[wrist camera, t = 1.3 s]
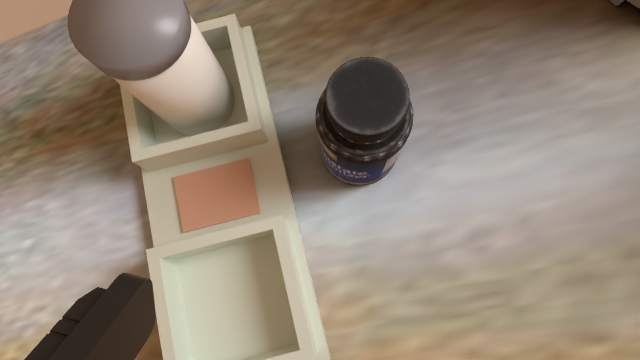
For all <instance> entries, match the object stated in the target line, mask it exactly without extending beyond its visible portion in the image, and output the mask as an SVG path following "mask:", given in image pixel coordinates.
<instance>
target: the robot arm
mask: <svg viewBox="0 0 640 360" xmlns="http://www.w3.org/2000/svg"><path fill="white" fill-rule="evenodd" d="M155 318H156V311H155V302H154V292H153V284H152V281H151V280H150V279H146V278H143V277H139V276H135V275H132V274H128V273H122V274H120V275H119V276H118V277H117V278H116V279H115V280H114V282H113V283H112V284H111V285H110V286H109V288H108V289H107V290H106V289H103V288H99V287H97V288H95V289H94V290H92V291H91V292H89V293H88V294H86V295H84V296H83V297H81V298H80V299H78V300H77V301H76V302H75V303H74V304H73V305H72V307H71V308H70V309H69V310H68V311H67V312H66V313H65V314H64V316H63V318H62V320H59V321H58V322H57V323H56V325H55V326H54V327H53V328H52V329H51V330H50V333H49V334H47V335H46V336H45V337H44V338H43V339H42V340H41V341H40V343H39V344H38V345H37V346H36V347H35V348H34V349H33V350H32V352H31V353H30V354H29V355H28V356H27V357H26V358H25V359H24V360H134V359H135V357H136V356H137V354H138V353H139V351H140V350H141V348H142V347H143V345H144V344H145V342H146V340H147V339H148V337H149V335H150V334H151V331H152V329H153V326H154V323H155Z"/></svg>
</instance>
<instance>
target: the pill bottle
mask: <svg viewBox="0 0 640 360" xmlns="http://www.w3.org/2000/svg"><path fill="white" fill-rule="evenodd" d="M412 125H413V108H412V104H411V102H410V99H409V88H408V85H407V82H406V80H405V78H404V76H403V75H402V73H401V72H400V71H399V70H398V69H397V68H396V67H395V66H393V65H392V64H391V63H389V62H387V61H384V60H382V59H379V58H374V57H360V58H356V59H353V60H350V61H348V62H346V63H344V64H343V65H341V66H340V67H339V68H338V69H337V70H336V71H335V72H334V73H333V75H332V76H331V77H330V79H329V81H328V84H327V87H326V89H325V90H324V91H323V93H322V95H321V97H320V98H319V102H318V104H317V109H316V126H317V131H318V138H319V144H320V150H321V156H322V161H323V163H324V165H325V166H326V168H327V169H328V171H329V172H330V173H331V174H332V175H333V176H334V177H335V178H337V179H338V180H340V181H342V182H344V183H347V184H350V185H362V184H372V183H375V182H377V181H379V180H380V179H382V178H383V177H385V176H386V175H387V174H388V173H389V171H390V170H391V169H392V167H393V166H394V164H395V162H396V160H397V158H398V156H399V154H400V152H401V150H402V148H403V146H404V144H405V142H406V140H407V138H408V137H409V135H410V132H411V129H412Z"/></svg>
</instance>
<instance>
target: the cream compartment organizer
mask: <svg viewBox="0 0 640 360" xmlns="http://www.w3.org/2000/svg"><path fill="white" fill-rule="evenodd" d="M68 31H69V35H70V38H71V40H72V42H73V44H74V46H75V47H76V49H77V50H78V51H79V52H80V53H81V54H82V55H83V56H84V57H85V58H86V59H88V60H89V61H90V62H91V63H92V64H94V65H95V66H96V67H97V68H98V69H100V70H101V71H102V72H104V73H105V74H107V75H109V76H111V77H112V78H113V79H114V80H116V81H117V82H118V83H119V84H120V89H121V95H122V102H123V108H124V114H125V121H126V127H127V133H128V140H129V146H130V153H131V159H132V162H133V163H135V164H137V165H138V166H140V167H141V171H142V178H143V184H144V190H145V196H146V202H147V209H148V215H149V221H150V227H151V233H152V239H153V246H154V248H150V249H146V254H147V261H148V267H149V273H150V280H151V281H152V284H153V292H154V302H155V311H156V318H157V324H158V330H159V337H160V343H161V349H162V356H163V360H329V359H330V352H329V348H328V344H327V339H326V335H325V331H324V327H323V323H322V319H321V314H320V310H319V306H318V302H317V298H316V294H315V289H314V285H313V281H312V277H311V273H310V269H309V264H308V260H307V256H306V252H305V248H304V244H303V239H302V235H301V231H300V227H299V223H298V218H297V214H296V210H295V206H294V202H293V198H292V193H291V189H290V185H289V181H288V177H287V173H286V168H285V164H284V160H283V156H282V152H281V148H280V143H279V139H278V135H277V131H276V127H275V122H274V118H273V114H272V110H271V106H270V102H269V97H268V93H267V89H266V85H265V81H264V77H263V72H262V68H261V64H260V60H259V56H258V52H257V47H256V43H255V39H254V35H253V32H252V29H251V26H246V27H243V28H241V27H240V25H239V22H238V20H237V18H236V15H235V14H232V15H228V16H224V17H220V18H216V19H212V20H208V21H204V22H201V23H197V24H195V22H194V21H193V19H192V17H191V16H190V13H189V10H188V8H187V6H186V4H185V2H184V1H183V0H73V1H72V4H71V6H70V10H69V14H68Z"/></svg>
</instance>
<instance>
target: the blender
mask: <svg viewBox="0 0 640 360" xmlns="http://www.w3.org/2000/svg"><path fill="white" fill-rule="evenodd" d="M609 1H610V2H611V3H613V4H614V5H615V6H618V5H619V4H620V3H622V2H623V1H624V0H609ZM627 1H628V2H630V3H631V4H633V5H634V6H636V7H638V8H640V0H627Z"/></svg>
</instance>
